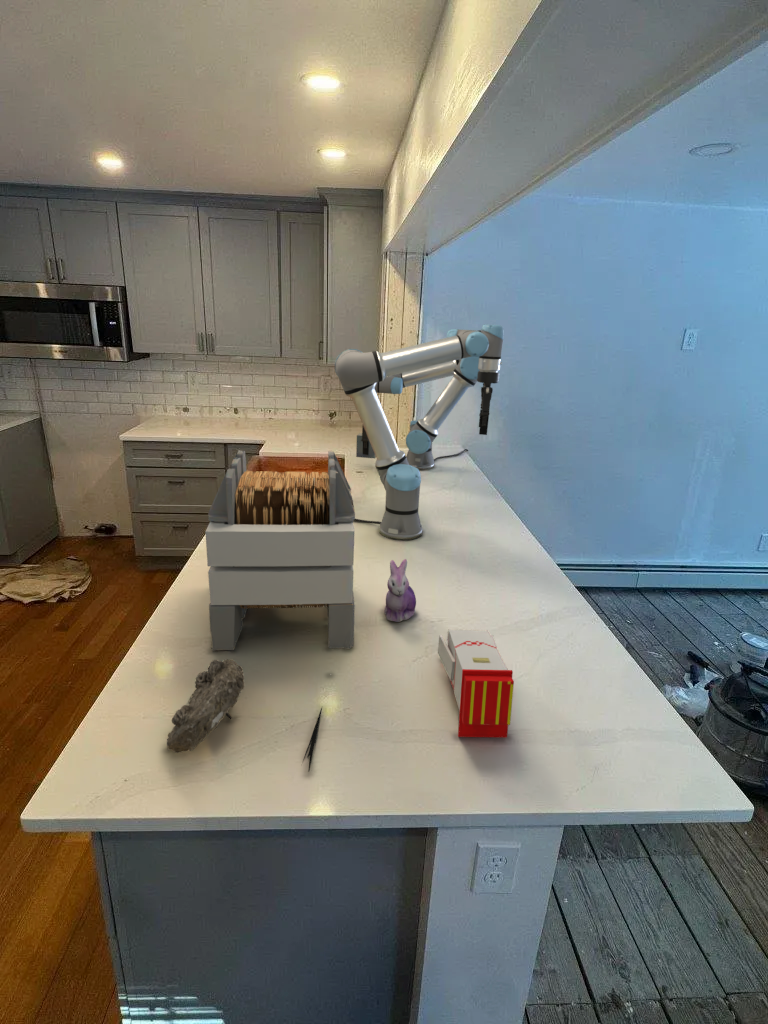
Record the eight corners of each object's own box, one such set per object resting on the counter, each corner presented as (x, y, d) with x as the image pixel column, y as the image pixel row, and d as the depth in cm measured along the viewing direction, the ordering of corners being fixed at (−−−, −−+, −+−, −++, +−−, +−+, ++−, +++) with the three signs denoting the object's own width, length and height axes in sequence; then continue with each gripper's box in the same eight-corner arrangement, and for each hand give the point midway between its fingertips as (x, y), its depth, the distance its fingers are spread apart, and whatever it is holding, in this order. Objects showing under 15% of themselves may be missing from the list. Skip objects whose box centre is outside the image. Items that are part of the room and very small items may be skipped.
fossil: (192, 660, 117) (244, 628, 112) (224, 691, 120) (276, 661, 115) (142, 746, 98) (202, 712, 93) (182, 779, 101) (242, 748, 96)
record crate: (231, 583, 159) (223, 441, 145) (347, 582, 163) (350, 443, 149) (209, 653, 127) (196, 479, 114) (354, 649, 131) (359, 481, 117)
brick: (374, 458, 273) (375, 436, 269) (356, 457, 274) (356, 435, 271) (376, 455, 278) (377, 434, 274) (358, 454, 279) (359, 432, 276)
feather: (331, 679, 122) (336, 673, 122) (307, 777, 96) (313, 769, 95) (324, 675, 122) (329, 669, 121) (298, 772, 95) (304, 764, 95)
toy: (488, 613, 130) (523, 677, 101) (484, 667, 133) (517, 744, 104) (435, 612, 130) (455, 676, 101) (432, 666, 133) (451, 743, 103)
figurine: (392, 627, 141) (395, 572, 136) (374, 608, 149) (376, 556, 144) (425, 619, 145) (429, 566, 140) (405, 601, 154) (408, 550, 149)
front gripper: (501, 375, 187) (494, 438, 194) (498, 368, 210) (491, 425, 217) (478, 374, 188) (472, 437, 195) (477, 367, 211) (472, 423, 218)
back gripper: (372, 408, 258) (370, 458, 266) (379, 402, 276) (378, 449, 283) (356, 407, 260) (354, 456, 267) (364, 401, 277) (363, 448, 285)
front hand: (482, 430), depth 206 cm, fingers open, 13 cm apart
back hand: (366, 452), depth 275 cm, fingers closed on brick, 5 cm apart
